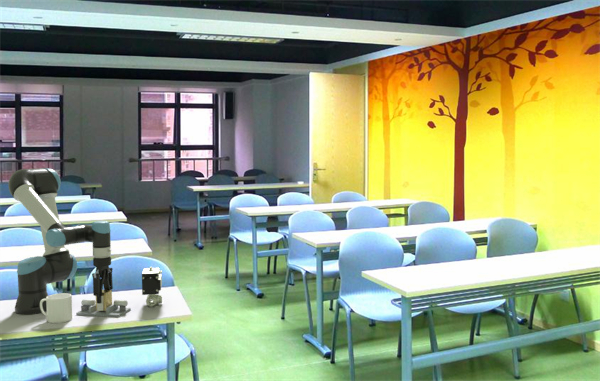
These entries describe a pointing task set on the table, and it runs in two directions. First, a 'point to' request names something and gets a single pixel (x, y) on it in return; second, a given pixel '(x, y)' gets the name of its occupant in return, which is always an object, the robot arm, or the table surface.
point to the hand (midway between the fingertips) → (103, 308)
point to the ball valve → (152, 285)
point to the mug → (58, 308)
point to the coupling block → (106, 299)
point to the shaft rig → (111, 311)
